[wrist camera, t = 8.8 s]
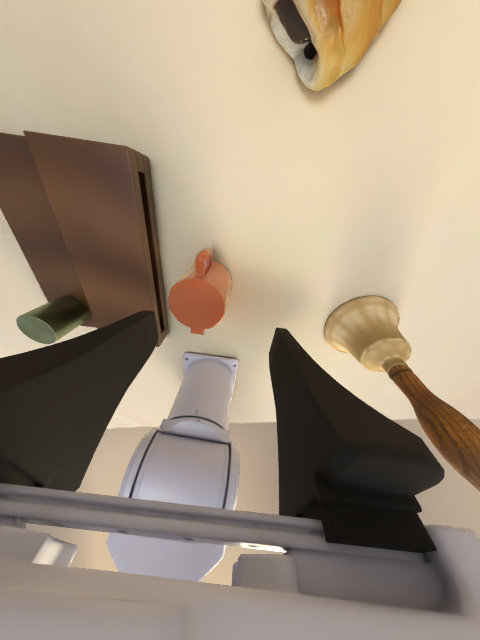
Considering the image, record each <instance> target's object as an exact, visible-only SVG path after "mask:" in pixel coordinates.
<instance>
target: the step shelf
mask: <svg viewBox="0 0 480 640" xmlns="http://www.w3.org/2000/svg"><path fill="white" fill-rule="evenodd" d="M23 132H24V135H25V136H20V135H13V134H6V133H0V208H1V210H2V212H3V214H4V216H5V218H6V220H7V222H8V224H9V226H10V228H11V230H12V232H13V234H14V236H15V238H16V240H17V242H18V244H19V246H20V248H21V250H22V252H23V253H24V255H25V257H26V259H27V261H28V263H29V265H30V267H31V269H32V271H33V273H34V275H35V277H36V279H37V281H38V283H39V285H40V287H41V289H42V291H43V293H44V295H45V297H46V299H47V301H48V303H49V302H51V301H53V300H55V299H58V298H60V297H62V296H71V297H74V298H76V299H78V300H80V301H81V302H82V303H83V304H84V305H85V306H86V307H87V309H88V310H89V314H90V316H89V319H88V320H87V321H85V322H84V323H82V324H81V326H89V327H96V328H97V329H99V328H102V327H104V326H107V325H109V324H112V323H114V322H116V321H119V320H121V319H123V318H126V317H128V316H130V315H133V314H135V313H137V312H140V311H143V310H147V311H155V317H156V323H157V330H158V336H159V340H158V342H157V344H156V347H159V346H160V345H161V343H162V341H163V340H164V338H165V337H166V336H167V334H168V324H167V315H166V306H165V297H164V289H163V280H162V271H161V262H160V254H159V245H158V236H157V227H156V219H155V210H154V201H153V193H152V184H151V175H150V166H149V158H148V157H147V156H145V155H143V154H141V153H139V152H137V151H135V150H133V149H131V148H129V147H127V146H122V145H115V144H109V143H102V142H96V141H89V140H83V139H76V138H69V137H63V136H56V135H50V134H43V133H37V132H30V131H23Z"/></svg>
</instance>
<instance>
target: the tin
mask: <svg viewBox="0 0 480 640" xmlns="http://www.w3.org/2000/svg"><path fill="white" fill-rule="evenodd" d="M89 316H90V314H89V310H88V309H87V307H86V306H85V305H84V304H83V303H82V302H81V301H80V300H78V299H76V298H74V297H71V296H62V297H60V298H58V299H55V300H53V301H51V302H49V303H47V304H45V305H42V306H40V307H38V308H36V309H34V310H32V311H29V312H27V313H25V314H23V315H21V316H19V317H18V318H17V325H18V327H19V329H20V330H21V331H22V332H23V333H24V334H25V335H26V336H28V337H29V338H31V339H32V340H34V341H37V342H39V343H43V344H51V343H54V342H55V341H57V340H58V339H60V338H61V337H63V336H64V335H66V334H67V333H69V332H70V331H72V330H73V329H75V328H76V327H78V326H79V325H81V324H82V323H84V322H85V321H87V320H88V319H89Z"/></svg>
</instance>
